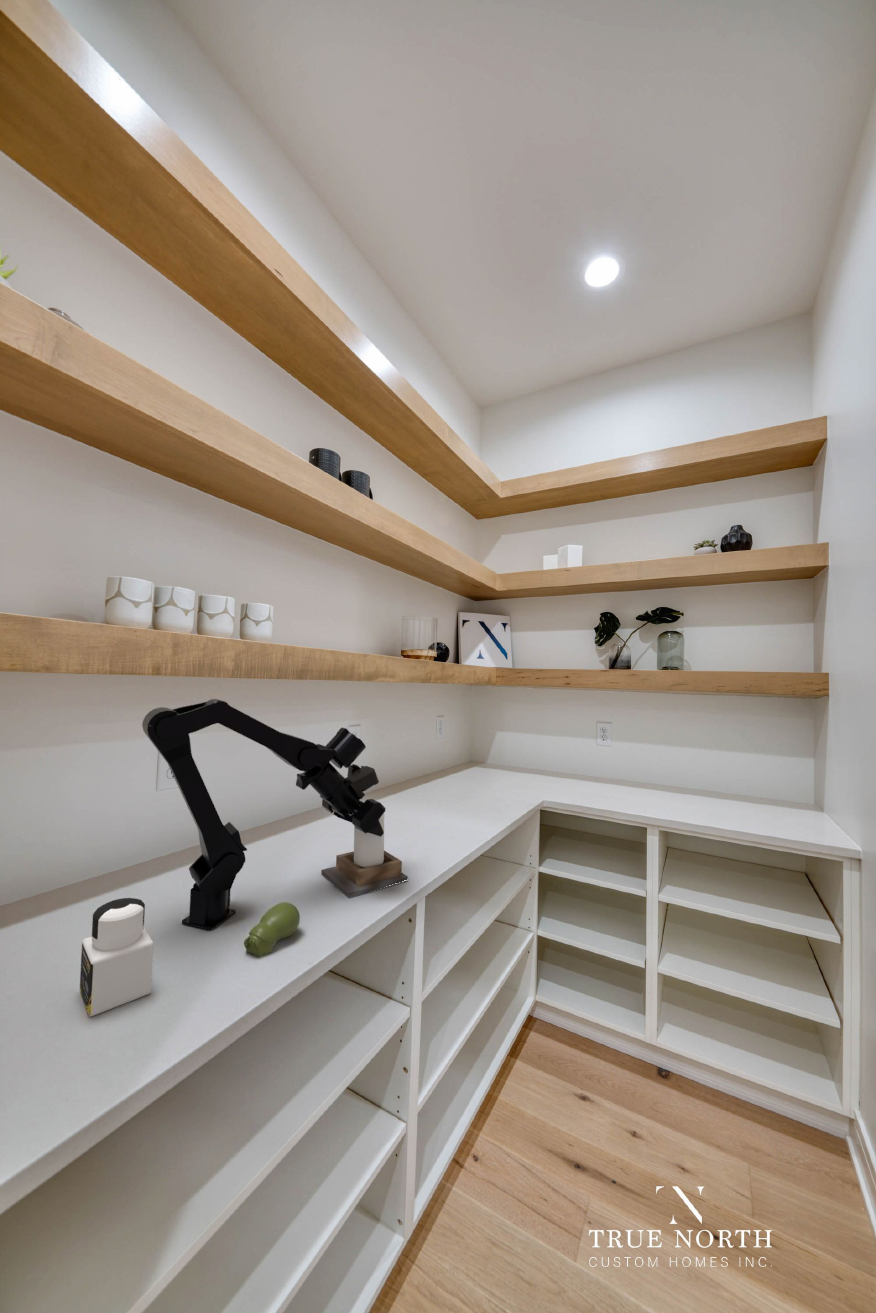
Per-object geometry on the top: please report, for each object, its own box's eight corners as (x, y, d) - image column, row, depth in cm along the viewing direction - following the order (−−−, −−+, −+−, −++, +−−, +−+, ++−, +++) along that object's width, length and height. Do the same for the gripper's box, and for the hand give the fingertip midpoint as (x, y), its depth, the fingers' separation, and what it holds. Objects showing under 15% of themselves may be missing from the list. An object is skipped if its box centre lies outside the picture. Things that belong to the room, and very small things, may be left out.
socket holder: (349, 898, 97) (349, 877, 97) (321, 874, 107) (322, 855, 107) (407, 881, 105) (408, 862, 105) (376, 860, 115) (377, 843, 115)
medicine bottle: (79, 990, 67) (83, 902, 68) (138, 969, 72) (142, 887, 72) (88, 1018, 62) (93, 923, 62) (151, 993, 67) (156, 906, 67)
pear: (305, 901, 83) (260, 938, 75) (307, 929, 84) (263, 970, 75) (281, 892, 86) (234, 928, 77) (283, 920, 87) (237, 958, 78)
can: (375, 870, 102) (375, 812, 103) (348, 866, 104) (349, 809, 105) (388, 860, 108) (389, 805, 109) (363, 856, 110) (363, 802, 111)
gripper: (379, 763, 97) (421, 811, 104) (337, 748, 112) (376, 791, 119) (341, 808, 92) (388, 855, 99) (302, 786, 107) (345, 829, 114)
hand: (374, 830), depth 108 cm, fingers closed on can, 6 cm apart
